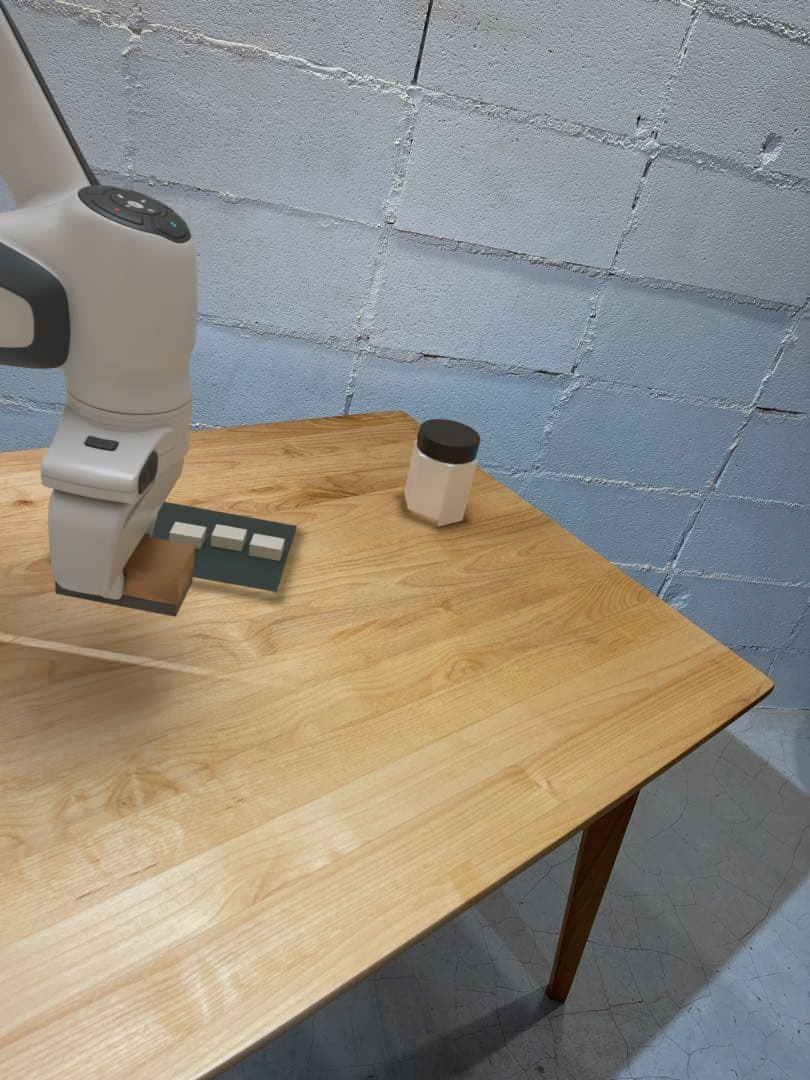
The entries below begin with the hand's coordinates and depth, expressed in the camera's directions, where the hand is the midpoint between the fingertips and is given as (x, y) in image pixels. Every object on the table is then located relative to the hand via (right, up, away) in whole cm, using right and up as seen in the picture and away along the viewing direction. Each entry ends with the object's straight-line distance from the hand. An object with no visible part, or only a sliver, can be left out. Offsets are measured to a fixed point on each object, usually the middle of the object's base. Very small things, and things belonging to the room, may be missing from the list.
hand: (126, 571), depth 68 cm
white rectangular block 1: (-2, +3, +25) cm, 25 cm away
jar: (+27, +7, +44) cm, 52 cm away
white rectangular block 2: (+3, +2, +26) cm, 26 cm away
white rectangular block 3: (+7, +1, +26) cm, 27 cm away
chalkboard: (-2, +2, +26) cm, 26 cm away
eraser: (0, -1, +1) cm, 2 cm away
